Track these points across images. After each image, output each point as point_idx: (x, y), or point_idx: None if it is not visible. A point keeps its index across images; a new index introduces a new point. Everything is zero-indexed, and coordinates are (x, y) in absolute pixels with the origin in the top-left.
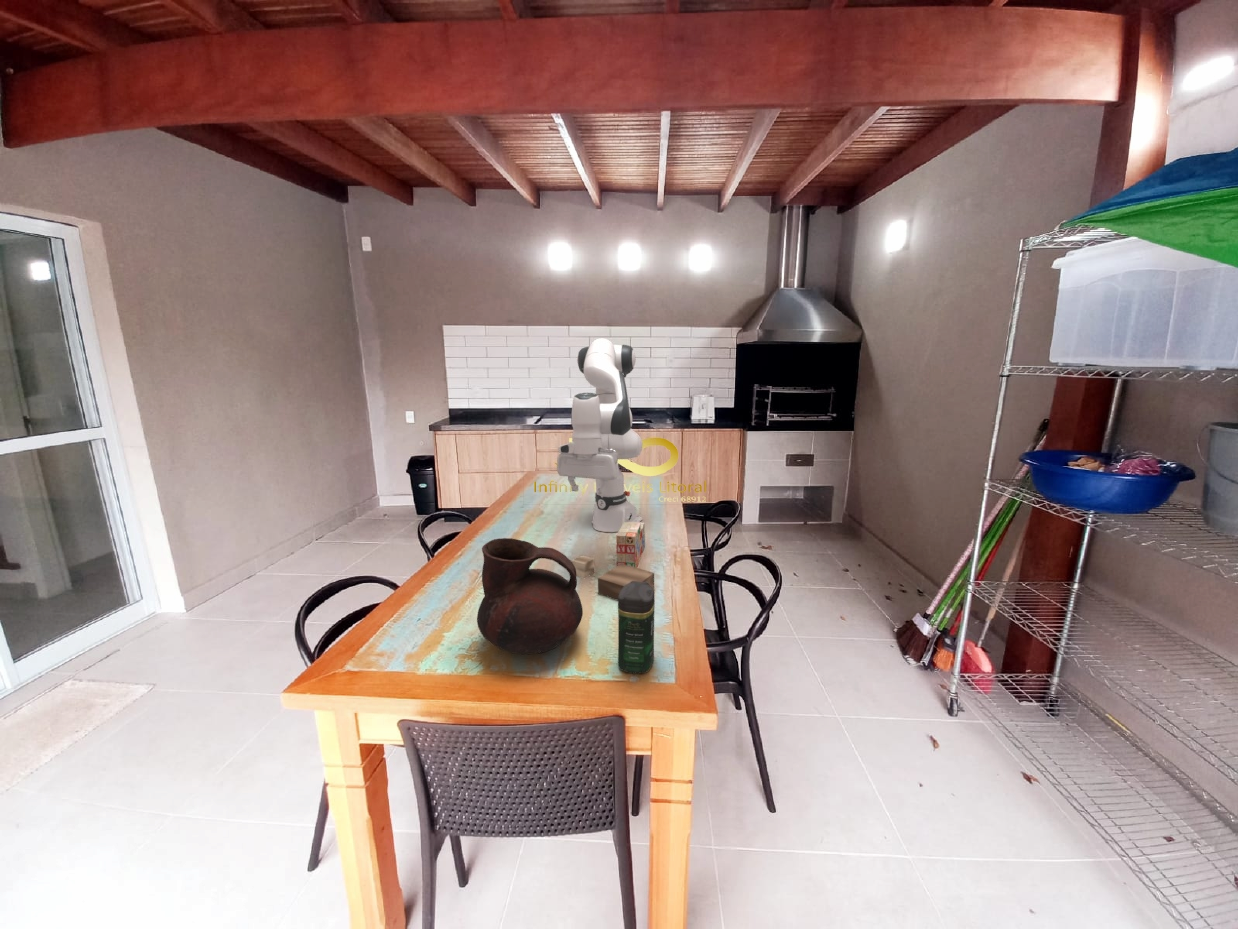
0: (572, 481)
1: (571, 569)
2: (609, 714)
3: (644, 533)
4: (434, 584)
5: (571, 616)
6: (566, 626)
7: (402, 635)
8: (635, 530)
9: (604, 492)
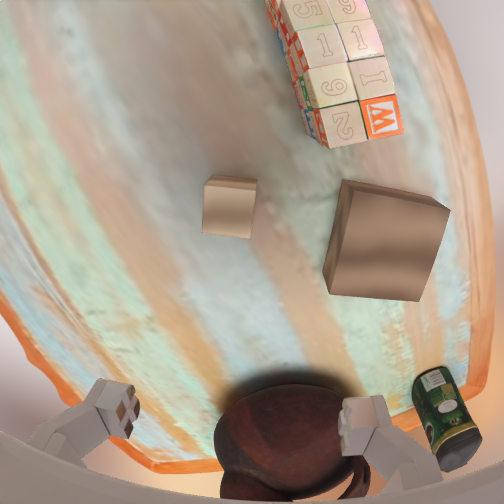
0: (78, 442)
1: (366, 492)
2: (411, 430)
3: None
4: (44, 346)
5: None
6: None
7: (141, 432)
8: (382, 73)
9: (381, 400)
